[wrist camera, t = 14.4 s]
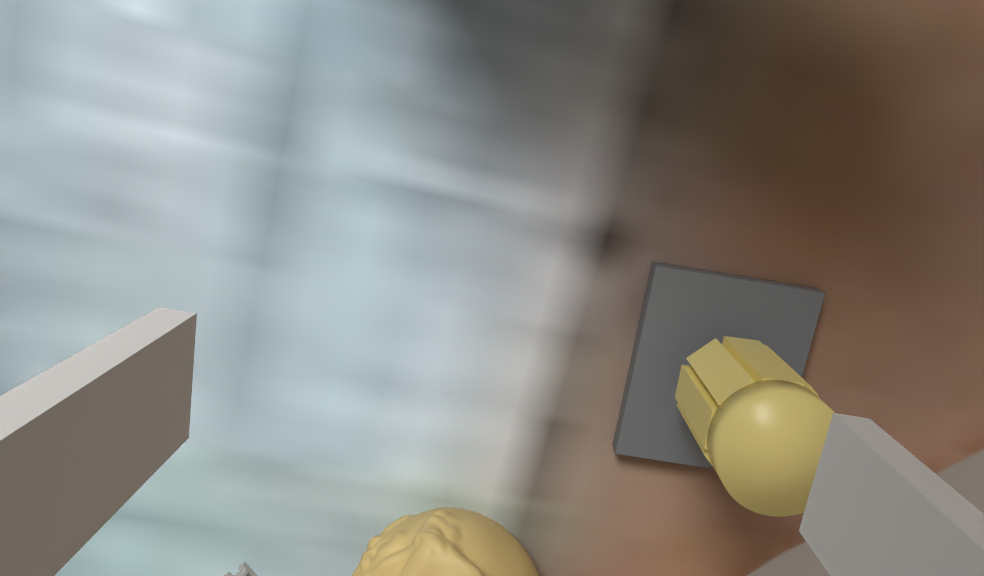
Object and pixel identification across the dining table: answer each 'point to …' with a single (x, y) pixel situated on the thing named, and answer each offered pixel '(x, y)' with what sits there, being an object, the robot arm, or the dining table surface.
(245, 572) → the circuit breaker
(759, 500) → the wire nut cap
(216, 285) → the dining table surface
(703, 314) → the grey plate with rod
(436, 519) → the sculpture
